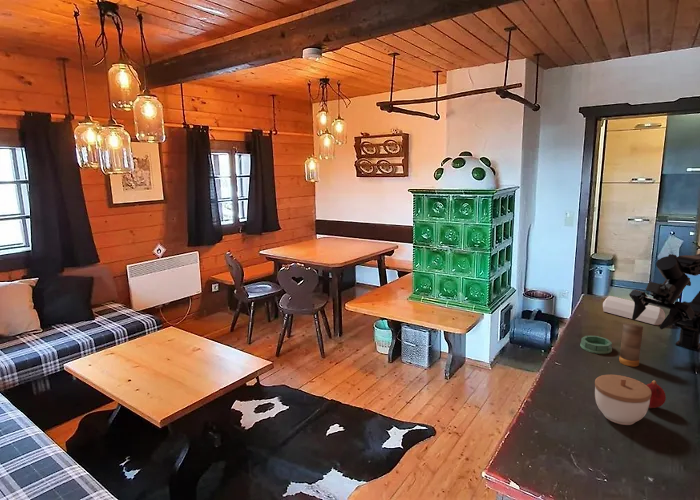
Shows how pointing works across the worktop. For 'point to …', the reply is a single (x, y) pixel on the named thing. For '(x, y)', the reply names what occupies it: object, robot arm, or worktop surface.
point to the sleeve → (631, 344)
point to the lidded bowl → (622, 398)
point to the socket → (596, 344)
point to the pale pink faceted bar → (627, 308)
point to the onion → (656, 395)
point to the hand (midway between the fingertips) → (646, 323)
